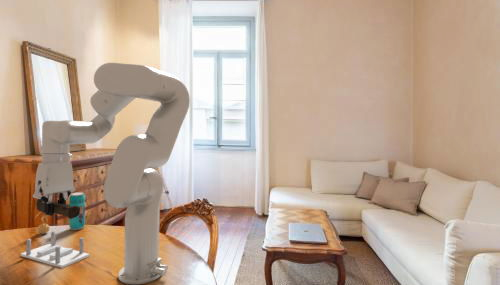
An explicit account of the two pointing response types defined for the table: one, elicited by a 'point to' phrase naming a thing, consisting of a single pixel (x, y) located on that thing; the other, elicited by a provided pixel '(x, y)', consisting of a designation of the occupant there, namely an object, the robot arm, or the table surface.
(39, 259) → the peg rack
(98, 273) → the table surface
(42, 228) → the figurine
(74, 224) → the beverage can
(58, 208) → the dark brown rough rod
